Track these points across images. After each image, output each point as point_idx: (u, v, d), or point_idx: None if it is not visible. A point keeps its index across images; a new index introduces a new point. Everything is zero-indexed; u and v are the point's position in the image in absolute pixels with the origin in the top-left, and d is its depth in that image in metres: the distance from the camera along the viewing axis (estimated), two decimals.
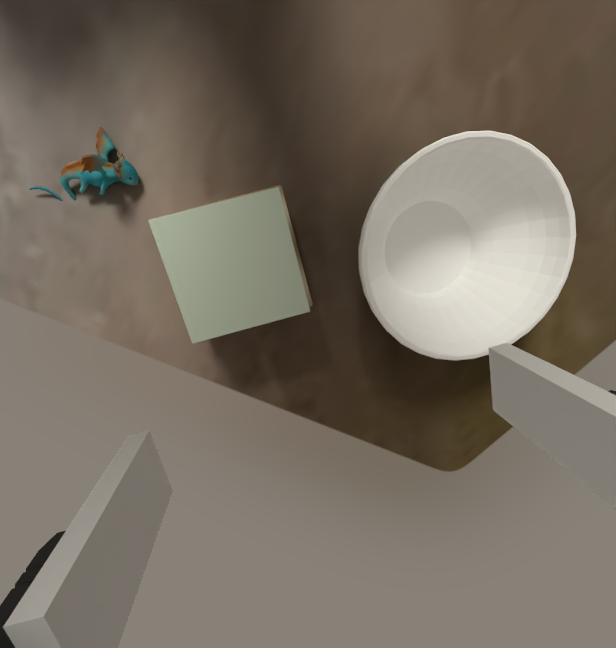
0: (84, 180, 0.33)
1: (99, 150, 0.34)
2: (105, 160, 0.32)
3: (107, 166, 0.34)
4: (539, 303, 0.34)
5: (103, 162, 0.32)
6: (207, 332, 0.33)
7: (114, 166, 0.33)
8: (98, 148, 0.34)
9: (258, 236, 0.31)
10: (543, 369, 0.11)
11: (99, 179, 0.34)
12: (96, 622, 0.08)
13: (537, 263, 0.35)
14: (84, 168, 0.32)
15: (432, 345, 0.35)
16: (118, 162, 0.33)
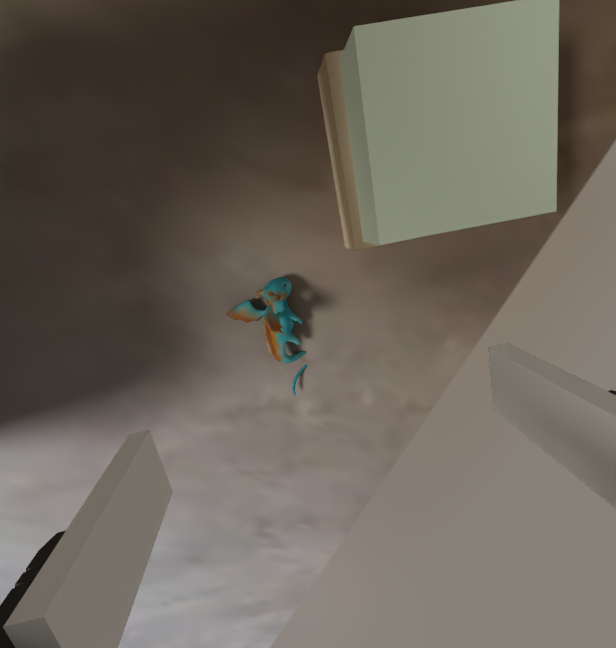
0: (288, 336, 0.28)
1: (252, 318, 0.29)
2: (268, 307, 0.26)
3: (271, 310, 0.28)
4: None
5: (271, 309, 0.26)
6: (546, 185, 0.22)
7: (273, 299, 0.27)
8: (249, 319, 0.29)
9: (424, 74, 0.19)
10: (543, 369, 0.11)
11: (287, 320, 0.28)
12: (96, 622, 0.08)
13: None
14: (279, 331, 0.26)
15: None
16: (268, 294, 0.27)
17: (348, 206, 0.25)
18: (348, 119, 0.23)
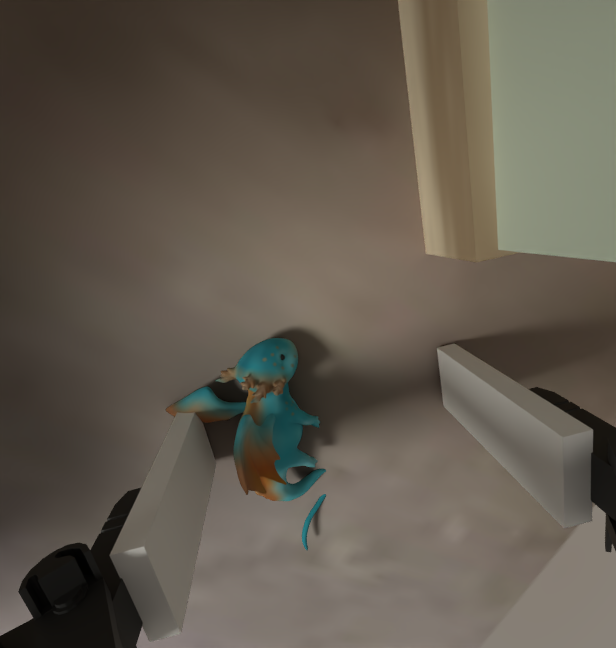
0: (292, 461, 0.13)
1: (218, 419, 0.14)
2: (245, 420, 0.11)
3: (255, 409, 0.13)
4: None
5: (251, 425, 0.11)
6: None
7: (258, 396, 0.12)
8: (213, 419, 0.14)
9: None
10: (477, 368, 0.12)
11: (288, 429, 0.13)
12: (175, 561, 0.09)
13: None
14: (271, 474, 0.11)
15: None
16: (246, 385, 0.12)
17: (465, 153, 0.10)
18: None
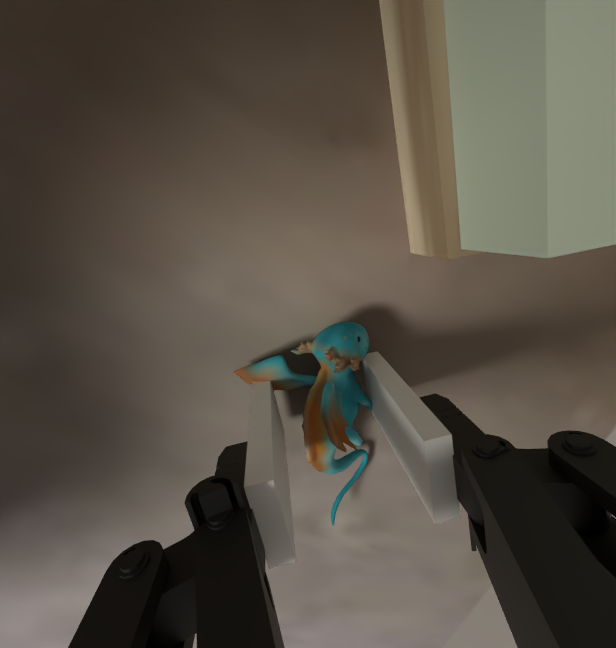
0: (347, 435, 0.15)
1: (281, 387, 0.15)
2: (330, 386, 0.12)
3: (324, 382, 0.14)
4: None
5: (333, 392, 0.12)
6: None
7: (338, 368, 0.13)
8: (277, 387, 0.15)
9: None
10: (385, 375, 0.13)
11: (351, 405, 0.14)
12: (284, 502, 0.10)
13: None
14: (344, 439, 0.13)
15: None
16: (329, 357, 0.13)
17: (437, 168, 0.12)
18: None
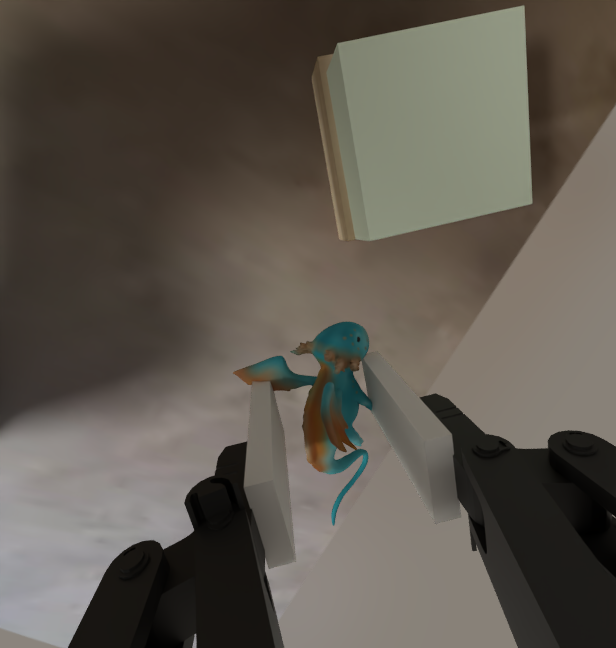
0: (347, 435, 0.15)
1: (281, 388, 0.15)
2: (330, 387, 0.12)
3: (324, 382, 0.14)
4: None
5: (333, 392, 0.12)
6: (521, 180, 0.23)
7: (338, 368, 0.13)
8: (277, 388, 0.15)
9: (403, 84, 0.21)
10: (386, 375, 0.13)
11: (351, 405, 0.14)
12: (284, 502, 0.10)
13: None
14: (343, 439, 0.13)
15: None
16: (329, 357, 0.13)
17: (341, 199, 0.26)
18: (336, 126, 0.25)
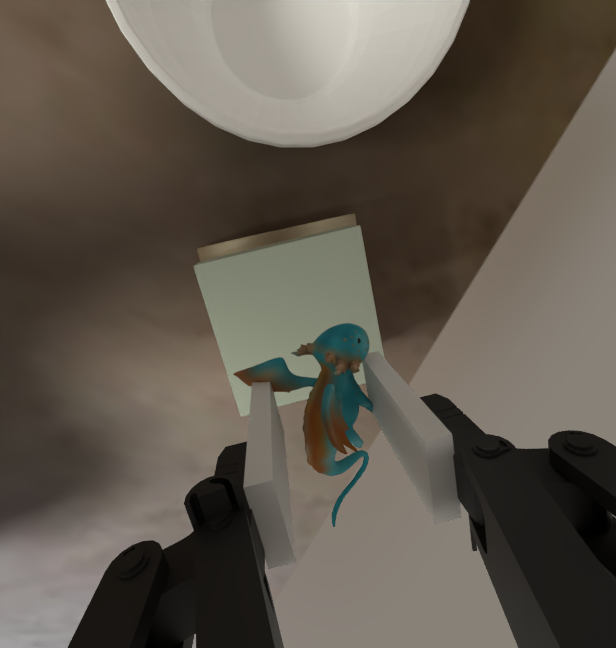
0: (348, 437, 0.15)
1: (282, 389, 0.15)
2: (331, 389, 0.12)
3: (325, 384, 0.14)
4: None
5: (334, 394, 0.12)
6: None
7: (339, 370, 0.13)
8: (277, 389, 0.15)
9: (257, 293, 0.24)
10: (386, 375, 0.13)
11: (351, 407, 0.14)
12: (284, 502, 0.10)
13: None
14: (344, 441, 0.13)
15: (442, 11, 0.21)
16: (329, 359, 0.13)
17: None
18: None
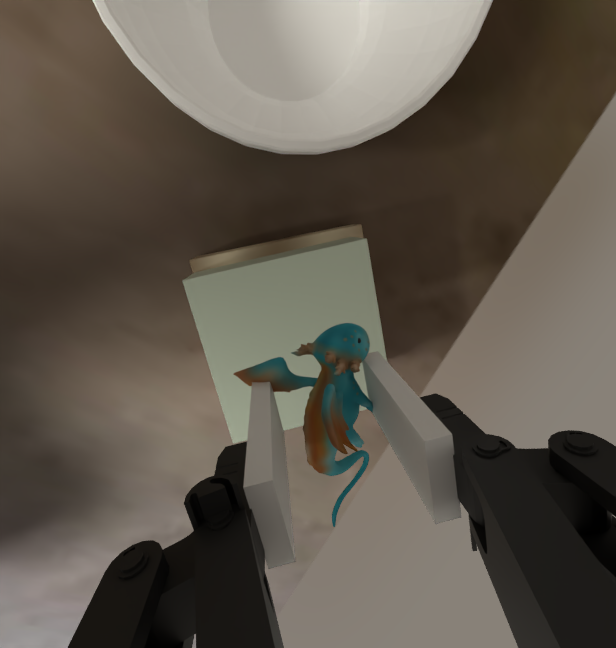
0: (348, 436, 0.15)
1: (282, 389, 0.15)
2: (331, 389, 0.12)
3: (325, 384, 0.14)
4: None
5: (334, 394, 0.12)
6: None
7: (339, 370, 0.13)
8: (277, 389, 0.15)
9: (252, 310, 0.22)
10: (386, 375, 0.13)
11: (351, 406, 0.14)
12: (284, 502, 0.10)
13: None
14: (344, 441, 0.12)
15: (463, 6, 0.19)
16: (329, 358, 0.13)
17: None
18: None
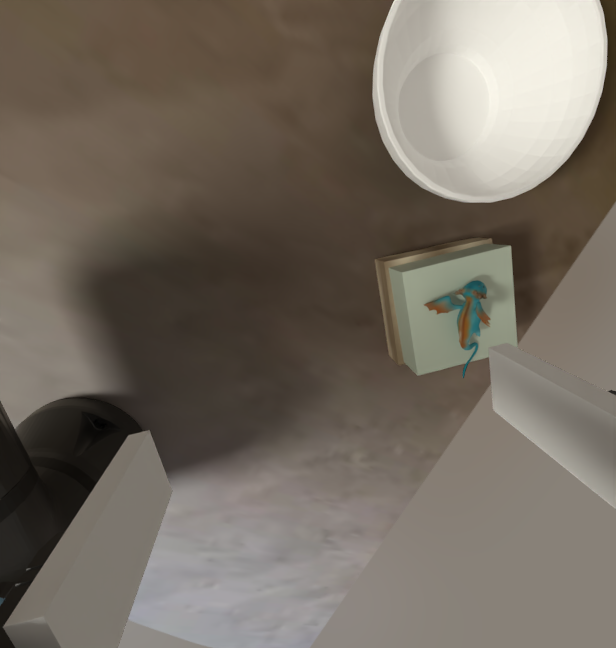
0: (477, 328, 0.35)
1: (445, 311, 0.35)
2: (480, 303, 0.32)
3: (469, 305, 0.34)
4: None
5: (480, 305, 0.32)
6: (510, 337, 0.38)
7: (479, 297, 0.33)
8: (443, 311, 0.35)
9: (439, 290, 0.36)
10: (543, 369, 0.11)
11: None
12: (96, 622, 0.08)
13: None
14: (484, 323, 0.32)
15: (571, 117, 0.32)
16: (475, 293, 0.33)
17: (394, 341, 0.41)
18: (394, 298, 0.39)
